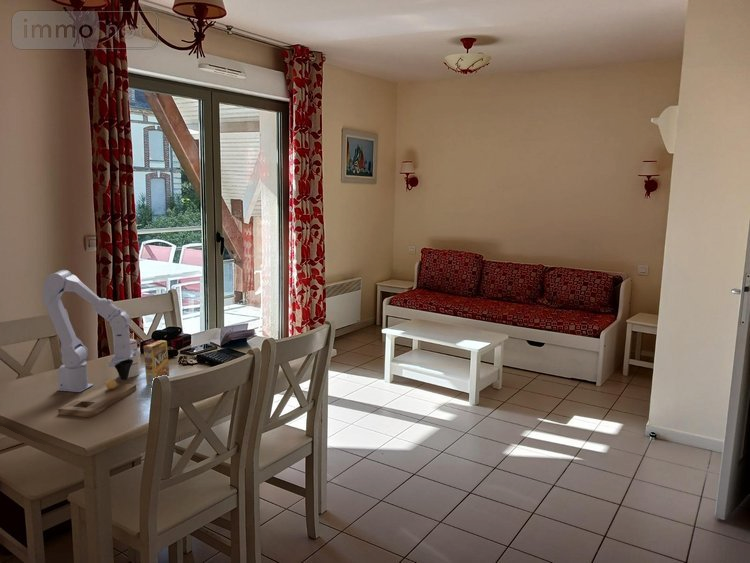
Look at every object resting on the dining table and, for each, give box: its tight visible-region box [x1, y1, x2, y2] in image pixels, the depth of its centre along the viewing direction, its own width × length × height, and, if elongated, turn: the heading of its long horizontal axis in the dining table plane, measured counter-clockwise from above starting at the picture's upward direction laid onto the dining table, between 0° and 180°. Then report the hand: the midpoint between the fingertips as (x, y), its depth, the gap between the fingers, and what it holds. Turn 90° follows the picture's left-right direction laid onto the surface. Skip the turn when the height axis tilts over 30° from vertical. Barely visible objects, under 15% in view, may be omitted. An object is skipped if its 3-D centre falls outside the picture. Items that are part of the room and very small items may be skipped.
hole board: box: [57, 382, 137, 418], centre depth 206 cm, size 12×26×2 cm, turn 170°
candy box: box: [143, 339, 170, 386], centre depth 225 cm, size 9×4×15 cm, turn 162°
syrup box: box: [128, 338, 140, 379], centre depth 232 cm, size 6×6×14 cm
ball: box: [105, 379, 117, 389], centre depth 212 cm, size 4×4×4 cm
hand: (124, 379), depth 220 cm, fingers closed
